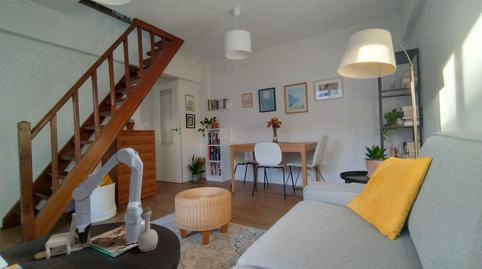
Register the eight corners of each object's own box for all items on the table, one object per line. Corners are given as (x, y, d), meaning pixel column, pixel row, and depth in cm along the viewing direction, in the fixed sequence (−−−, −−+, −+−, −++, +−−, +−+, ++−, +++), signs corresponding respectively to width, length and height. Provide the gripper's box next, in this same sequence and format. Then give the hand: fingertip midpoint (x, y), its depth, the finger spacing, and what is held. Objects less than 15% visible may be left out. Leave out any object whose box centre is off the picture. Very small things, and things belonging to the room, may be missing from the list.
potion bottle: (151, 253, 95) (150, 210, 95) (132, 251, 97) (131, 210, 97) (162, 243, 104) (161, 204, 104) (145, 242, 106) (144, 203, 106)
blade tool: (90, 243, 107) (89, 229, 107) (89, 247, 102) (88, 233, 102) (51, 251, 100) (51, 236, 100) (48, 256, 96) (48, 241, 96)
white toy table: (74, 244, 106) (73, 231, 106) (70, 254, 97) (69, 239, 97) (52, 249, 102) (52, 235, 102) (46, 259, 93) (45, 244, 93)
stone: (89, 235, 116) (89, 212, 116) (79, 239, 111) (78, 216, 111) (77, 232, 120) (77, 210, 120) (67, 236, 116) (66, 213, 116)
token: (51, 252, 100) (51, 249, 100) (48, 257, 96) (48, 254, 96) (36, 255, 98) (36, 252, 98) (33, 261, 93) (33, 258, 93)
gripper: (75, 209, 108) (76, 238, 108) (69, 219, 95) (70, 251, 95) (92, 207, 112) (93, 234, 112) (89, 216, 99) (90, 247, 99)
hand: (84, 242), depth 104 cm, fingers closed on blade tool
